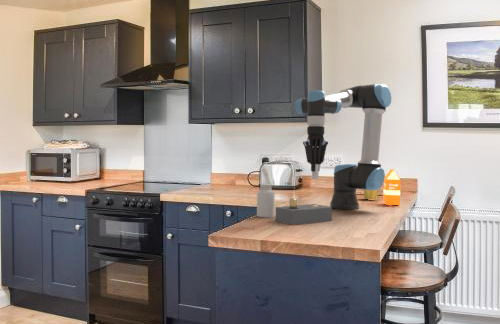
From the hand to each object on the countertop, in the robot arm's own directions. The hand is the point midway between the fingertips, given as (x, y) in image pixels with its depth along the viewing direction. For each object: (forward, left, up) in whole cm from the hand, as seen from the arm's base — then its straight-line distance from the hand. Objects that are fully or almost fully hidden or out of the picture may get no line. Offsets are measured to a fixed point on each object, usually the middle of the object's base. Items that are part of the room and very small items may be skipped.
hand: (315, 178), depth 217 cm
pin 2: (0, 0, -17) cm, 17 cm away
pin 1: (+12, 0, -14) cm, 18 cm away
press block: (+6, 0, -18) cm, 19 cm away
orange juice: (-72, -18, -19) cm, 76 cm away
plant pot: (-78, -39, -19) cm, 89 cm away
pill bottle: (+14, -18, -19) cm, 29 cm away
